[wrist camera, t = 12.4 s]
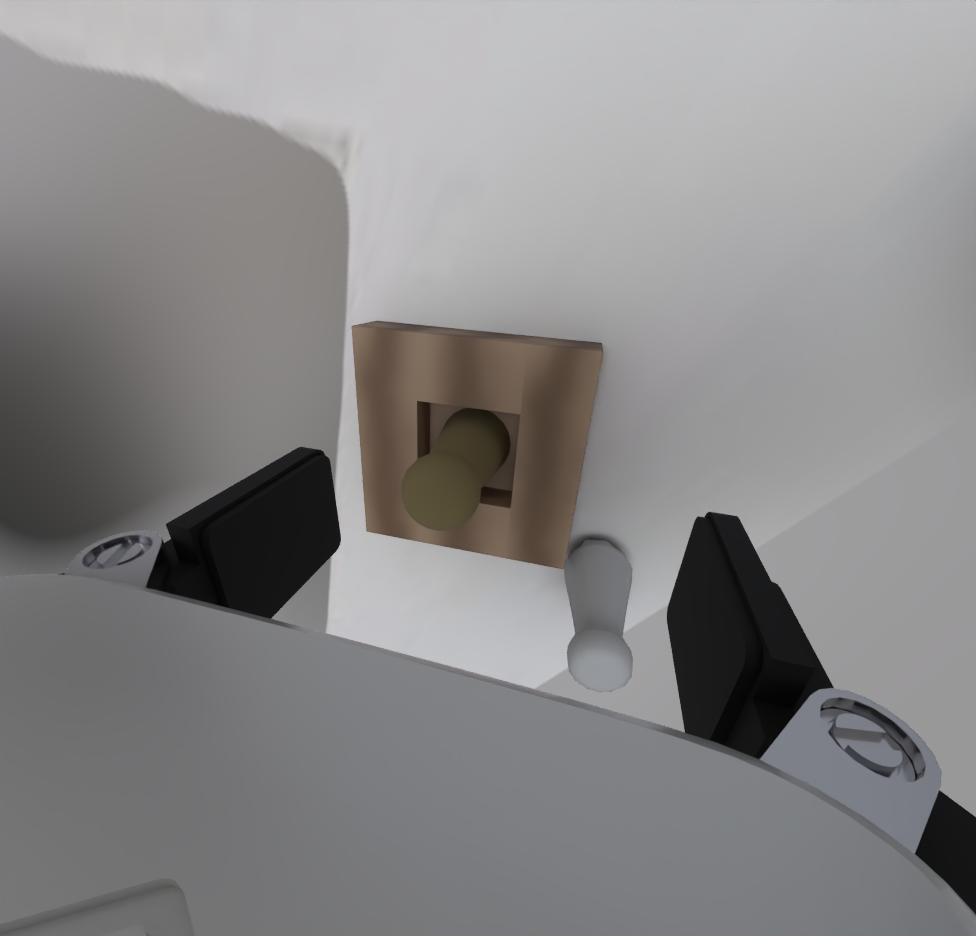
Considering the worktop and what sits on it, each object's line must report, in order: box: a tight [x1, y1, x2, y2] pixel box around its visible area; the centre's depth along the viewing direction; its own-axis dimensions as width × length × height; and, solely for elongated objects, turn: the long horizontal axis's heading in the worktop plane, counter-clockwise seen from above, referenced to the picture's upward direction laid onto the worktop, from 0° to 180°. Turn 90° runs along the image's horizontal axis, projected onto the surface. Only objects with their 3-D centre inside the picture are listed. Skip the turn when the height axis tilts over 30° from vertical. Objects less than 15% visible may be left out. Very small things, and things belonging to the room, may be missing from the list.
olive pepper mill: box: [401, 408, 511, 531], centre depth 30 cm, size 6×6×11 cm
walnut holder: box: [352, 321, 603, 569], centre depth 34 cm, size 18×18×4 cm
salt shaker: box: [564, 540, 633, 692], centre depth 33 cm, size 6×6×13 cm
